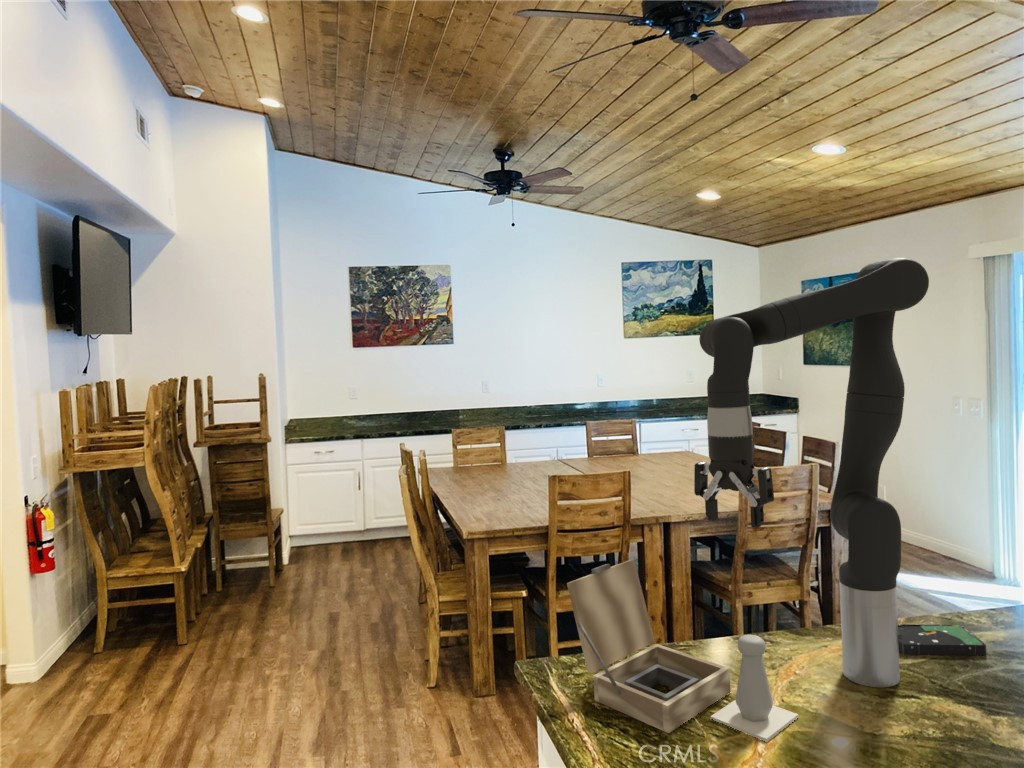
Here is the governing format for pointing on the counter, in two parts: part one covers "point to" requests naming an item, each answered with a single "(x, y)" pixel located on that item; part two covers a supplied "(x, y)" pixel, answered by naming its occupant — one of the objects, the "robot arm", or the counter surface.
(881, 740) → the counter surface
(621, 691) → the case
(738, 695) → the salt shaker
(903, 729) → the counter surface
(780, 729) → the tile
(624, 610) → the lid
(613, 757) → the counter surface
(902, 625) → the disk drive
